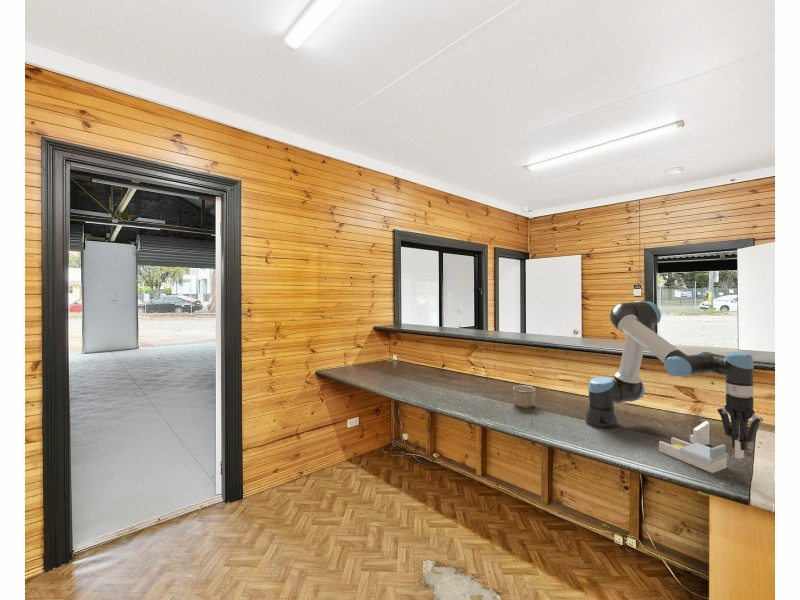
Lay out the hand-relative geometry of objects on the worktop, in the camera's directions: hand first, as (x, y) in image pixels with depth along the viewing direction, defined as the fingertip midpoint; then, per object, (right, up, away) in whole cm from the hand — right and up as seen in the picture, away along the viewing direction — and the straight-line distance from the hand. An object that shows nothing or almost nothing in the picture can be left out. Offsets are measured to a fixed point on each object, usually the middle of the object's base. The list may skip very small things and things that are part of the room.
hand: (739, 457), depth 136 cm
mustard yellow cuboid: (-7, -8, +20) cm, 22 cm away
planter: (-51, -6, +86) cm, 100 cm away
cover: (-4, -4, +11) cm, 13 cm away
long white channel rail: (-6, -8, +16) cm, 18 cm away
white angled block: (+9, -6, +29) cm, 31 cm away
